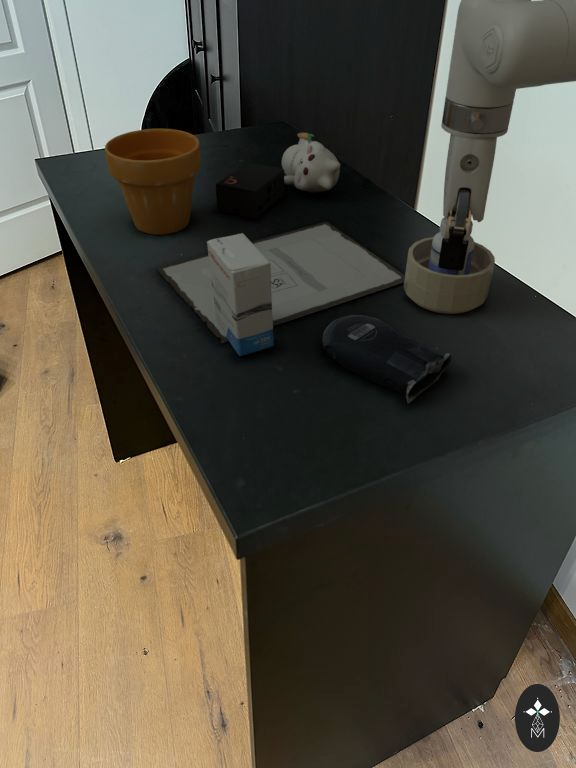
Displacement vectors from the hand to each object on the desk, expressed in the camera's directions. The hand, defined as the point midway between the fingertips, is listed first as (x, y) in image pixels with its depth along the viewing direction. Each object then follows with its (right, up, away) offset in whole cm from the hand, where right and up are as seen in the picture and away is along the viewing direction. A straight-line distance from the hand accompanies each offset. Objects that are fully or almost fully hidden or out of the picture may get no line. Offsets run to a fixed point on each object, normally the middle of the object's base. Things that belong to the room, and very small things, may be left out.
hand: (451, 255), depth 86 cm
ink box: (-27, -11, -4) cm, 30 cm away
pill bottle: (0, -4, +3) cm, 5 cm away
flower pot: (-42, +9, +21) cm, 48 cm away
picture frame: (-22, -1, +8) cm, 24 cm away
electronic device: (-28, +14, +27) cm, 41 cm away
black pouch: (-11, -14, -8) cm, 20 cm away
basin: (0, -5, +4) cm, 6 cm away
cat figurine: (-17, +18, +32) cm, 41 cm away
